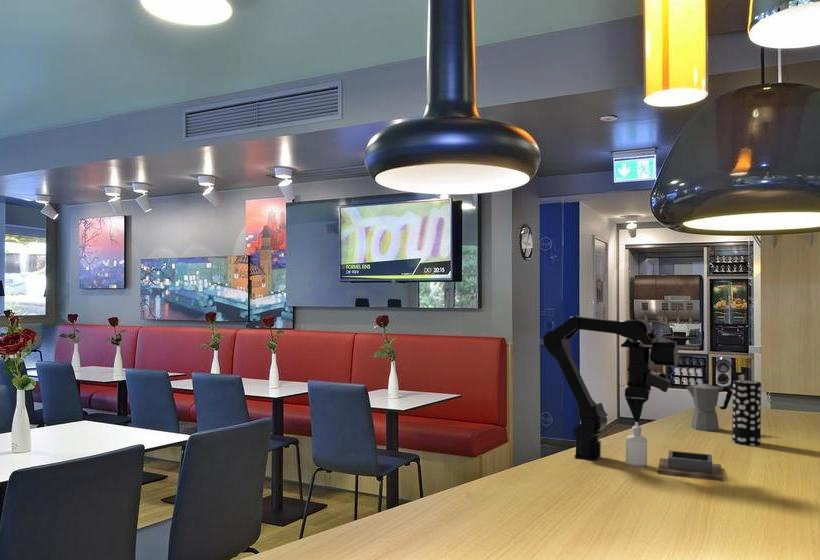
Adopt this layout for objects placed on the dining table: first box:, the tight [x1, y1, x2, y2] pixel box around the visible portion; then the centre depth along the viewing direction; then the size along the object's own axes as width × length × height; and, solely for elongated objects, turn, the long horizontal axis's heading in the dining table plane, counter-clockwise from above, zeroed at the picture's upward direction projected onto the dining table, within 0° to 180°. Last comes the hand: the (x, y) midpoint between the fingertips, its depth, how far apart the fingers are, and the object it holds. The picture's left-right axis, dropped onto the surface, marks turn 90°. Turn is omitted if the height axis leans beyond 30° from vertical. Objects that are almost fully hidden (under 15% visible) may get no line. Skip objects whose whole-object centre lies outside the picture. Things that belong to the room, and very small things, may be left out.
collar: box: [667, 450, 713, 473], centre depth 185 cm, size 11×9×3 cm
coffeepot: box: [685, 378, 733, 432], centre depth 243 cm, size 15×9×18 cm, turn 70°
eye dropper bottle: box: [625, 421, 648, 467], centre depth 191 cm, size 4×6×12 cm
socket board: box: [657, 457, 724, 482], centre depth 185 cm, size 16×14×1 cm
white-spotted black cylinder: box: [731, 379, 762, 447], centre depth 221 cm, size 8×8×20 cm
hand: (637, 418), depth 191 cm, fingers open, 9 cm apart
